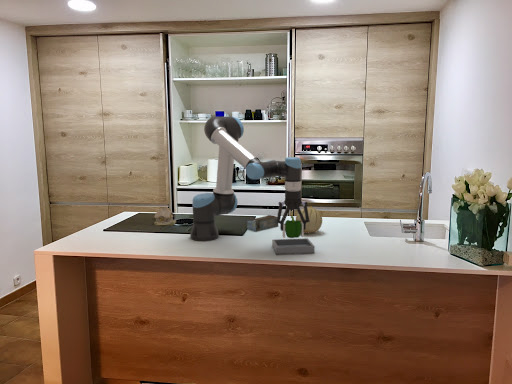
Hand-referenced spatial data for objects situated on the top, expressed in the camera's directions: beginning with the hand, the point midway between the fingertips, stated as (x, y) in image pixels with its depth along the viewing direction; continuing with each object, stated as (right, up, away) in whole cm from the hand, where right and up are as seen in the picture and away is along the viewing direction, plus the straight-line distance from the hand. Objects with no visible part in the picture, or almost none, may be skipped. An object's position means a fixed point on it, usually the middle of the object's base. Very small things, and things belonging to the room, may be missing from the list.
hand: (292, 236), depth 197 cm
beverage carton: (-14, 0, +45) cm, 47 cm away
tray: (0, -6, +1) cm, 6 cm away
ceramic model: (-74, +2, +58) cm, 94 cm away
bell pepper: (0, 0, 0) cm, 0 cm away
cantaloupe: (+12, -2, +33) cm, 35 cm away
